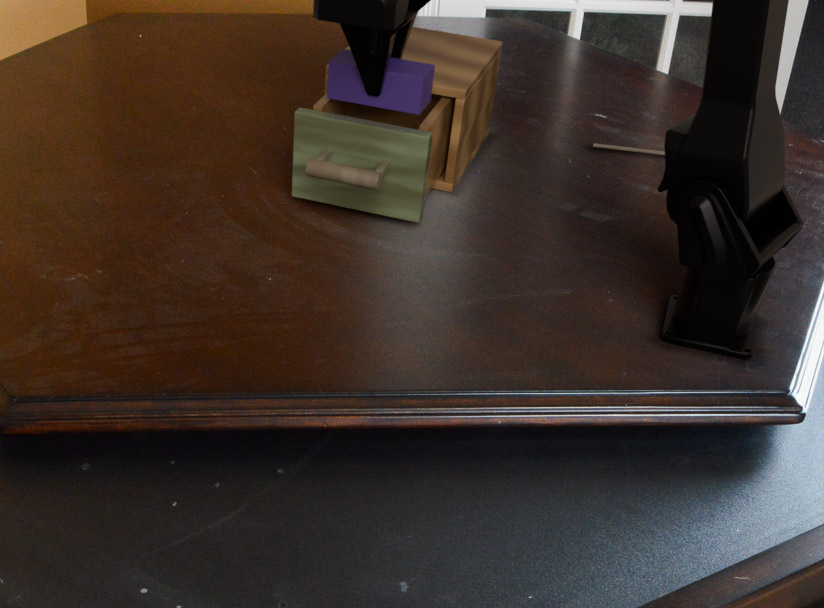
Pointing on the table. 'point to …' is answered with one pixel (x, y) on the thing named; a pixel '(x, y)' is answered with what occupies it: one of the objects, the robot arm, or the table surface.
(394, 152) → the drawer
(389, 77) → the purple rectangular prism
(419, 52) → the cabinet
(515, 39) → the table surface
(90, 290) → the table surface
